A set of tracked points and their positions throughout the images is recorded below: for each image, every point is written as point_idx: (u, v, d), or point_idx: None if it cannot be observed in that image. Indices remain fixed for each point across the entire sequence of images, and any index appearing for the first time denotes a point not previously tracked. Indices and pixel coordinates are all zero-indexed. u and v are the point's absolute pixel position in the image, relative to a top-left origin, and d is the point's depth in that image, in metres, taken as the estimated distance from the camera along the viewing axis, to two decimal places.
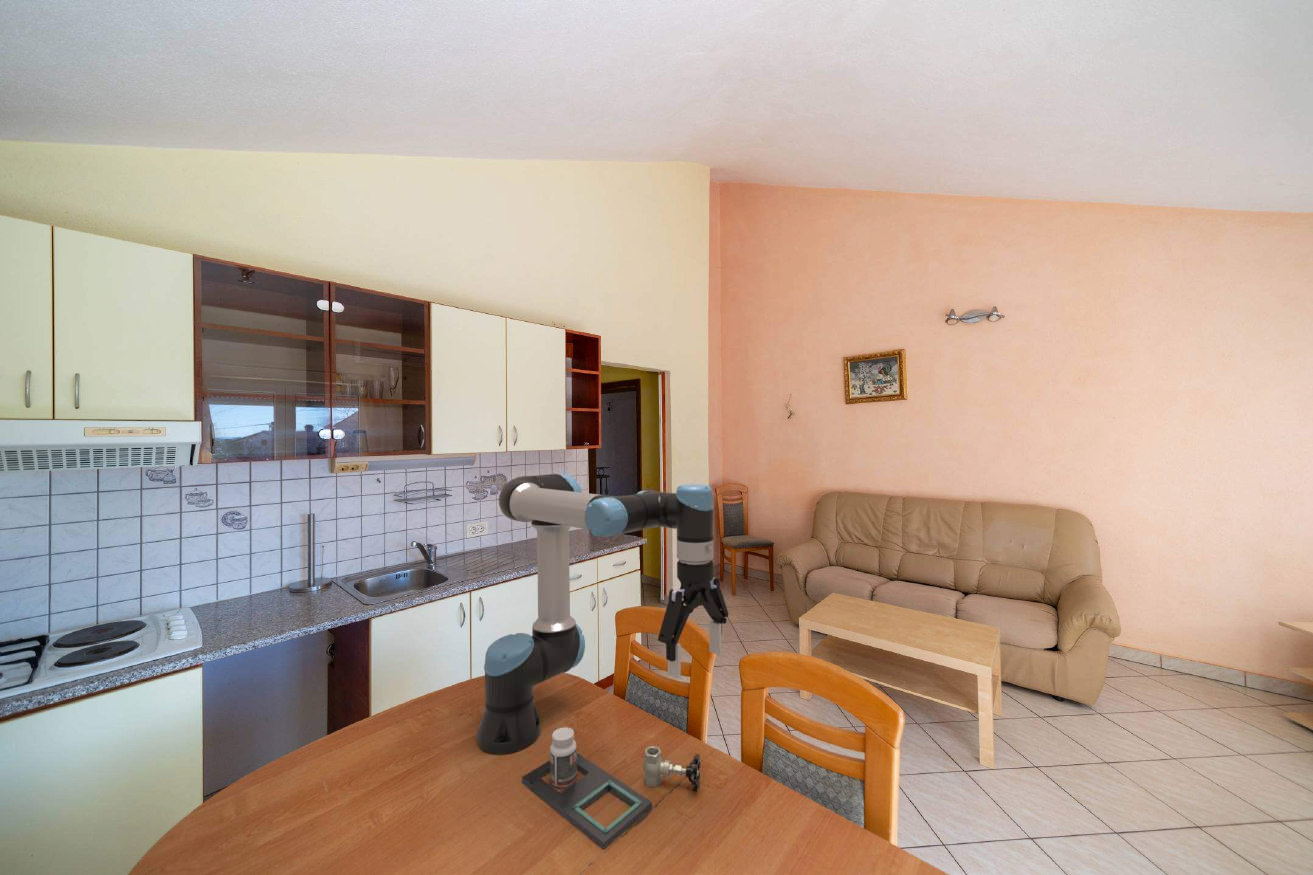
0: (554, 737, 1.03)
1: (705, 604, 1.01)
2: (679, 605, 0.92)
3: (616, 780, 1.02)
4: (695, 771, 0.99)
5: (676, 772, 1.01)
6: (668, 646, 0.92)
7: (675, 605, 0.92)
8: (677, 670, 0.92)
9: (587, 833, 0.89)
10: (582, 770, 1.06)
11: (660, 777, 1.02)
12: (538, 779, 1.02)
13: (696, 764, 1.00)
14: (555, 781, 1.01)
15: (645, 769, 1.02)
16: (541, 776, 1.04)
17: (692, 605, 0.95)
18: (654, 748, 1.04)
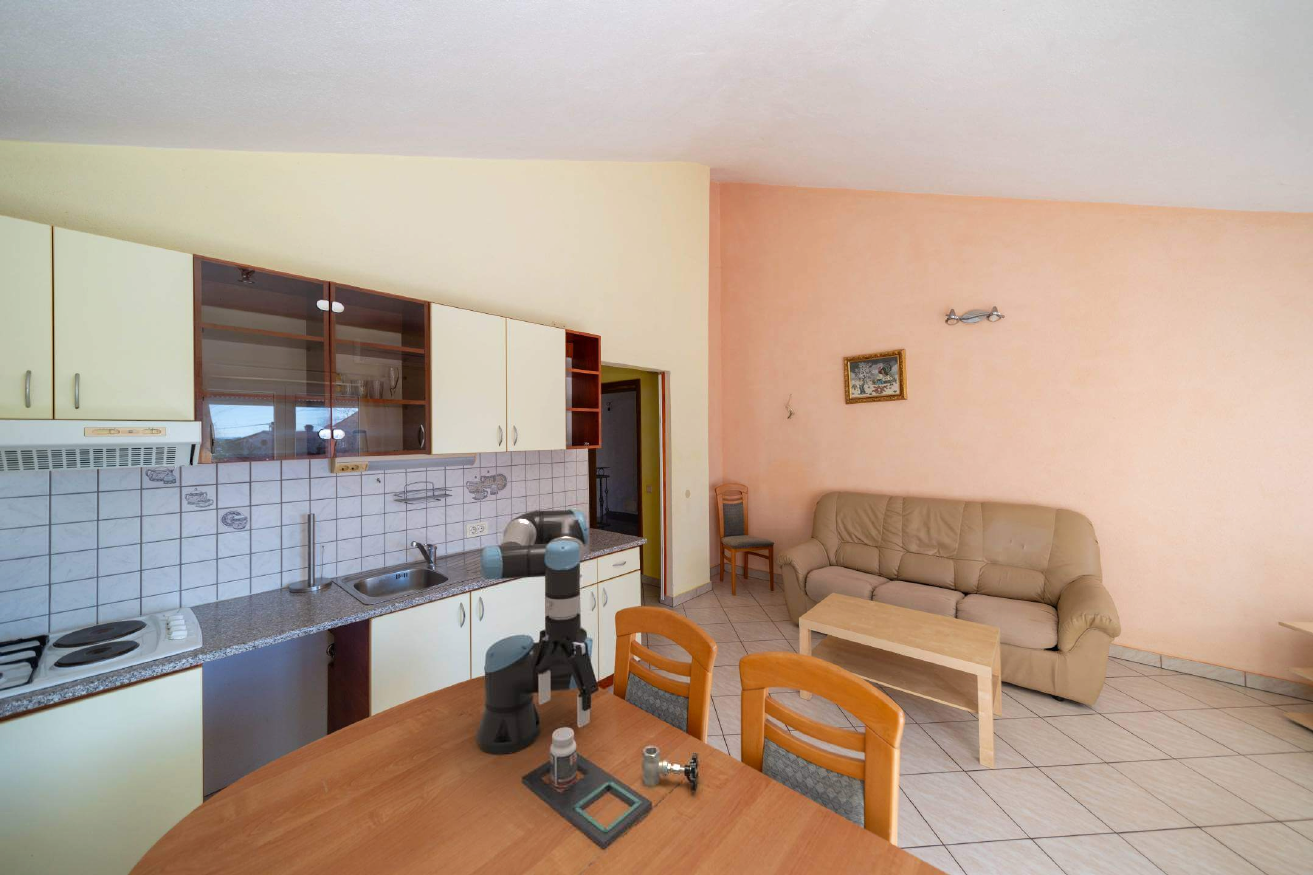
0: (554, 737, 1.03)
1: None
2: (540, 641, 1.07)
3: (616, 780, 1.02)
4: (694, 770, 0.99)
5: (674, 771, 1.01)
6: None
7: None
8: None
9: (587, 833, 0.89)
10: (582, 770, 1.06)
11: (658, 776, 1.03)
12: (538, 779, 1.02)
13: (694, 763, 1.01)
14: (555, 781, 1.01)
15: (643, 769, 1.02)
16: (541, 776, 1.04)
17: (547, 650, 1.05)
18: (652, 748, 1.05)
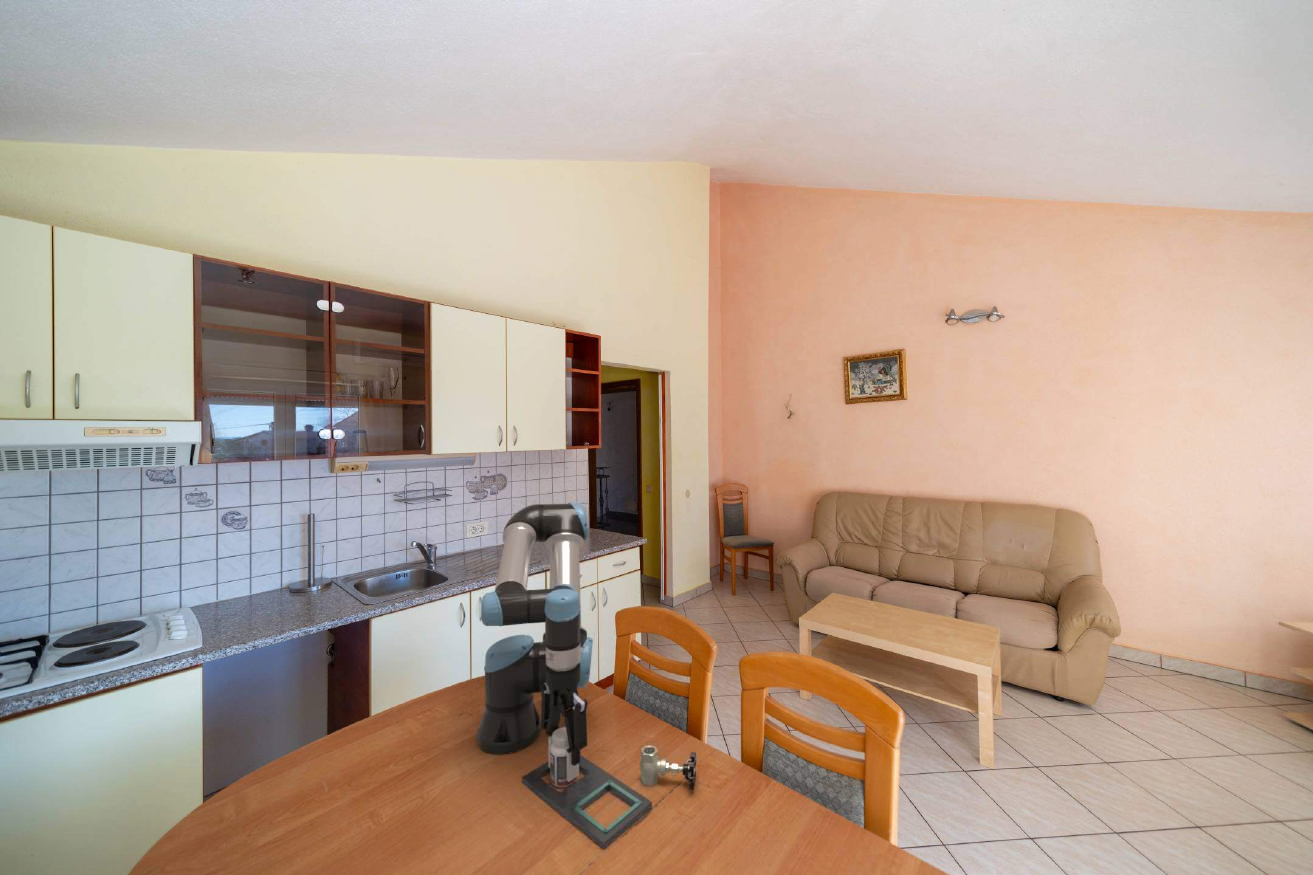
0: (554, 737, 1.03)
1: None
2: (543, 696, 1.07)
3: (616, 780, 1.02)
4: (692, 769, 0.99)
5: (673, 770, 1.02)
6: None
7: None
8: None
9: (587, 833, 0.89)
10: (582, 770, 1.06)
11: (656, 775, 1.03)
12: (538, 779, 1.02)
13: (693, 762, 1.01)
14: (555, 781, 1.01)
15: (642, 768, 1.02)
16: (541, 776, 1.04)
17: (550, 703, 1.04)
18: (650, 747, 1.05)
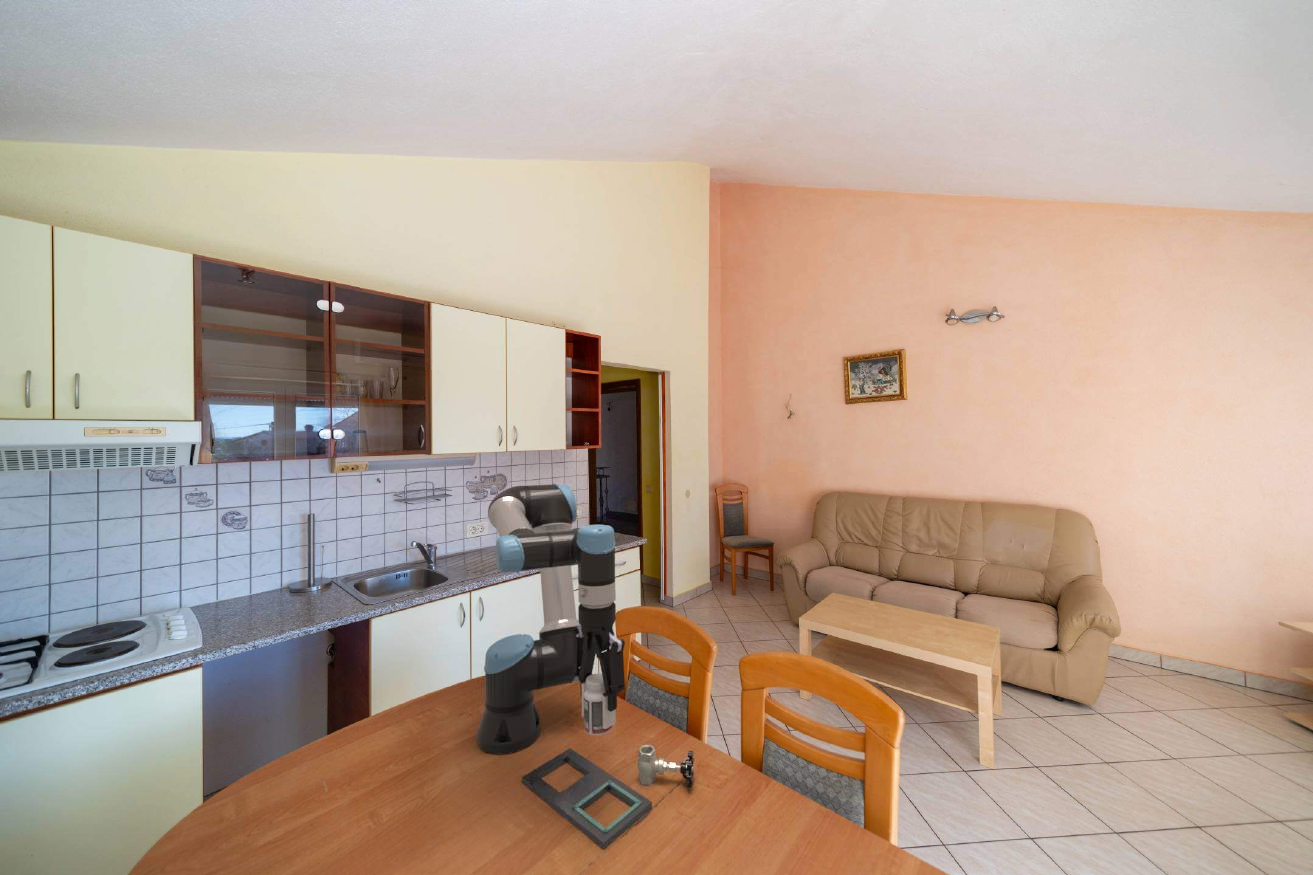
0: (588, 681, 0.95)
1: None
2: (575, 640, 0.99)
3: (616, 780, 1.02)
4: (690, 767, 1.00)
5: (670, 769, 1.02)
6: None
7: None
8: None
9: (587, 833, 0.89)
10: (582, 770, 1.06)
11: (654, 775, 1.03)
12: (538, 779, 1.02)
13: (690, 760, 1.02)
14: (590, 729, 0.93)
15: (640, 768, 1.02)
16: (541, 776, 1.04)
17: (583, 646, 0.97)
18: (648, 746, 1.05)
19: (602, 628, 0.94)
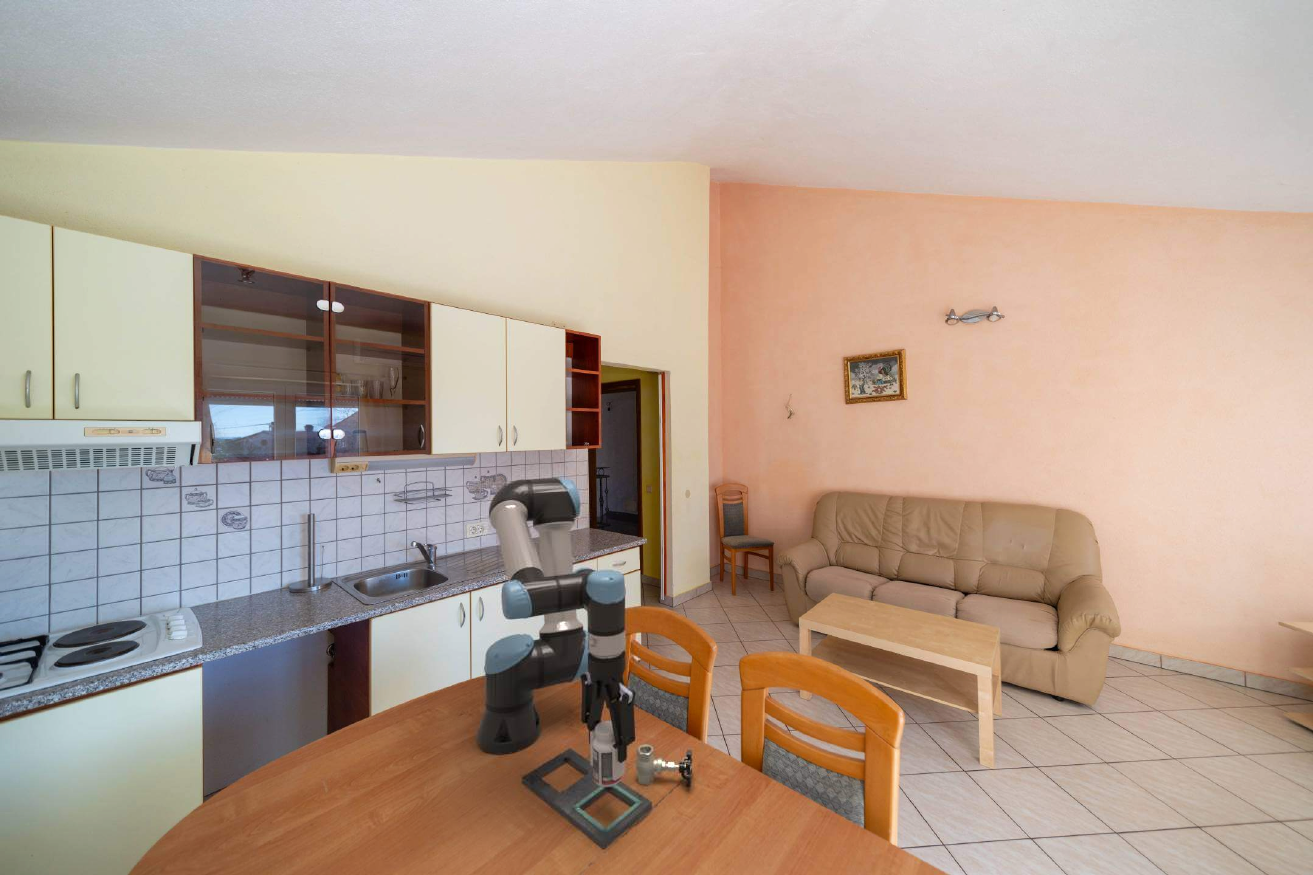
0: (598, 731, 0.93)
1: None
2: (583, 687, 0.98)
3: None
4: (688, 767, 1.00)
5: (669, 769, 1.02)
6: None
7: None
8: None
9: (587, 833, 0.89)
10: (582, 770, 1.06)
11: (653, 774, 1.03)
12: (538, 779, 1.02)
13: (689, 760, 1.02)
14: (599, 780, 0.92)
15: (638, 767, 1.02)
16: (541, 776, 1.04)
17: (593, 694, 0.95)
18: (646, 746, 1.05)
19: (612, 678, 0.92)
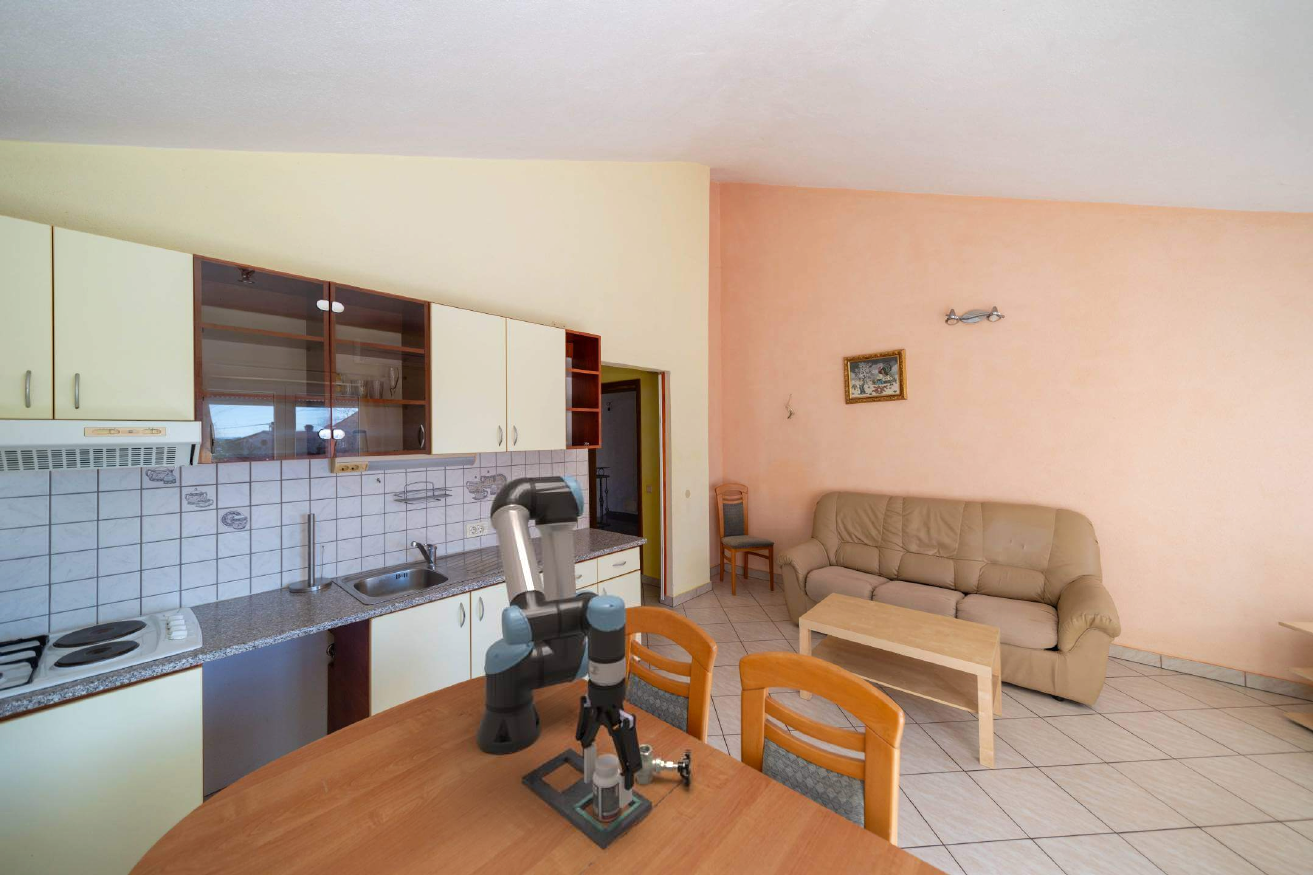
0: (598, 765, 0.93)
1: None
2: (582, 709, 0.98)
3: None
4: (687, 766, 1.00)
5: (668, 768, 1.02)
6: None
7: None
8: None
9: (587, 833, 0.89)
10: (582, 770, 1.06)
11: (651, 774, 1.03)
12: (538, 779, 1.02)
13: (688, 759, 1.02)
14: (599, 814, 0.92)
15: None
16: (541, 776, 1.04)
17: (591, 718, 0.95)
18: (645, 746, 1.05)
19: (611, 705, 0.93)
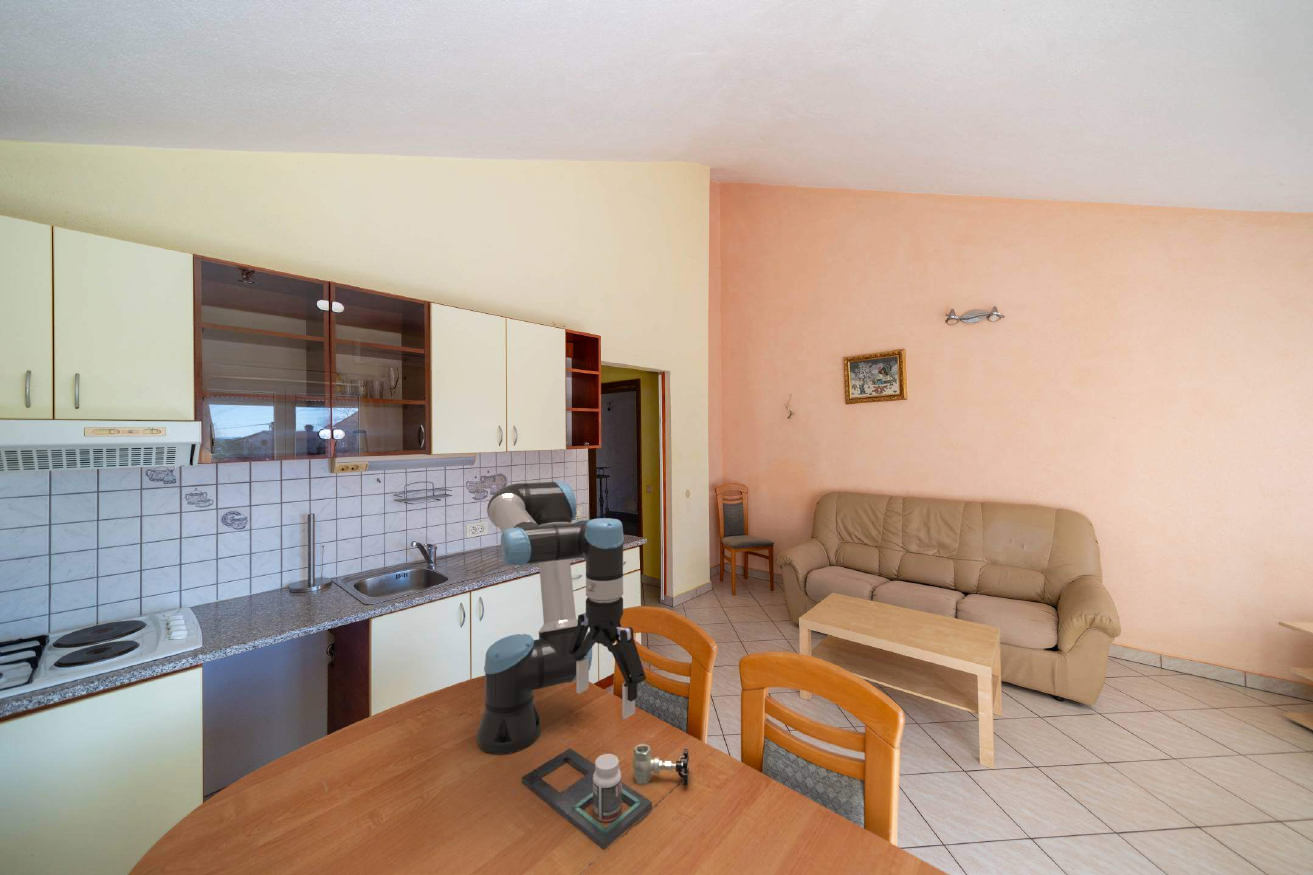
0: (598, 765, 0.93)
1: None
2: (579, 626, 0.99)
3: None
4: (685, 765, 1.00)
5: (666, 768, 1.03)
6: None
7: None
8: None
9: (587, 833, 0.89)
10: (582, 770, 1.06)
11: (650, 773, 1.03)
12: (538, 779, 1.02)
13: (686, 758, 1.02)
14: (599, 814, 0.92)
15: (635, 767, 1.03)
16: (541, 776, 1.04)
17: (587, 635, 0.97)
18: (643, 746, 1.05)
19: (608, 623, 0.94)
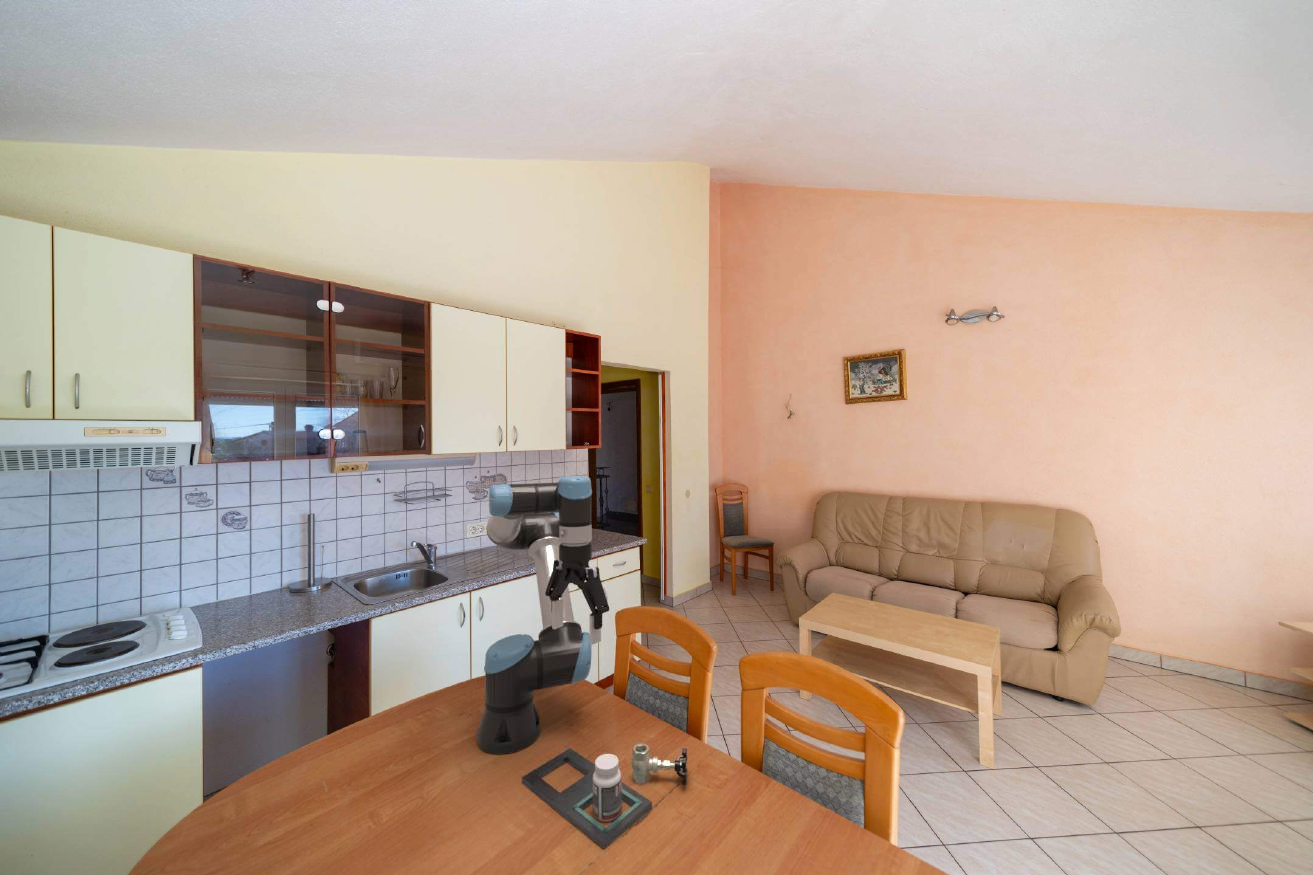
0: (598, 765, 0.93)
1: None
2: (554, 570, 1.14)
3: None
4: (684, 765, 1.01)
5: (665, 767, 1.03)
6: None
7: None
8: None
9: (587, 833, 0.89)
10: (582, 770, 1.06)
11: (648, 773, 1.03)
12: (538, 779, 1.02)
13: (684, 758, 1.02)
14: (599, 814, 0.92)
15: (634, 767, 1.03)
16: (541, 776, 1.04)
17: (561, 577, 1.12)
18: (642, 745, 1.05)
19: (578, 564, 1.09)
